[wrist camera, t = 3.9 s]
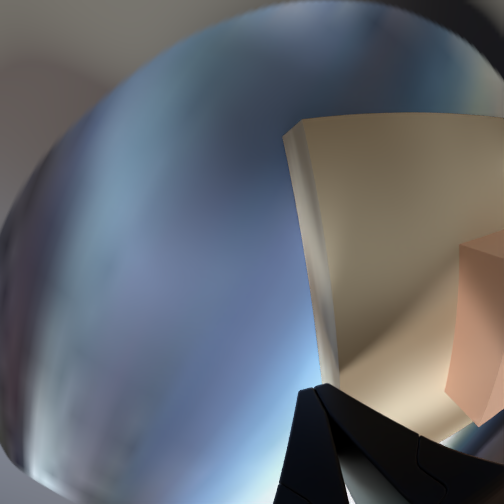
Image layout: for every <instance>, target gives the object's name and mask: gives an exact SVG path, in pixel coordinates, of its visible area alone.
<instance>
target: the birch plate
mask: <svg viewBox="0 0 504 504" xmlns="http://www.w3.org/2000/svg"><path fill="white" fill-rule="evenodd" d="M282 138H283V142H284V147H285V152H286V157H287V161H288V166H289V171H290V176H291V181H292V186H293V192H294V197H295V202H296V208H297V213H298V219H299V224H300V230H301V236H302V242H303V248H304V254H305V260H306V266H307V272H308V279H309V286H310V292H311V299H312V306H313V313H314V321H315V328H316V336H317V344H318V353H319V361H320V370H321V379H322V384H325V383H330V384H331V385H333V386H335V387H336V388H338V389H340V390H341V391H343V392H345V393H346V394H348V395H350V396H351V397H353V398H355V399H356V400H358V401H360V402H362V403H363V404H365V405H367V406H369V407H370V408H372V409H374V410H376V411H377V412H379V413H381V414H383V415H385V416H386V417H388V418H390V419H392V420H394V421H396V422H397V423H399V424H401V425H403V426H405V427H407V428H409V429H411V430H412V431H414V432H416V433H418V434H419V436H420V435H422V436H424V437H426V438H428V439H430V440H432V441H434V442H437V443H439V442H441V441H443V440H444V439H446V438H448V437H450V436H451V435H453V434H455V433H456V432H458V431H460V430H461V429H463V428H464V427H466V426H467V425H469V424H470V423H472V422H473V421H472V420H471V419H470V418H469V417H468V416H467V415H466V413H465V412H464V411H463V410H462V409H461V408H460V407H459V406H458V405H457V404H456V403H455V402H454V401H453V400H452V399H451V398H450V397H449V396H448V395H447V394H446V393H445V392H444V391H445V386H446V381H447V377H448V371H449V366H450V360H451V354H452V348H453V341H454V333H455V324H456V315H457V303H458V286H459V244H461V243H465V242H468V241H471V240H474V239H477V238H480V237H483V236H486V235H489V234H492V233H495V232H498V231H500V230H503V229H504V118H499V117H491V116H480V115H468V114H453V113H420V112H403V113H370V114H353V115H339V116H328V117H318V118H309V119H302V120H301V121H299V122H298V123H297V124H296V125H295V126H294V127H293V128H291V129H290V130H289V131H288V132H287V133H286V134H285V135H283V136H282ZM344 483H345V482H344Z"/></svg>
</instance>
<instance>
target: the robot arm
mask: <svg viewBox="0 0 504 504" xmlns="http://www.w3.org/2000/svg"><path fill="white" fill-rule="evenodd" d="M344 482H345V483H344ZM345 484H346V486H347V488H348V490H349V492H350V494H351V496H352V498H353V500H354V502H355V504H504V464H500V463H496V462H493V461H489V460H485V459H482V458H478V457H475V456H471V455H468V454H465V453H462V452H459V451H456V450H453V449H451V448H448V447H446V446H443V445H441V444H439V443H437V442H434V441H432V440H430V439H428V438H426V437H424V436H422V435H420V436H419V434H418V433H416V432H414V431H412V430H411V429H409V428H407V427H405V426H403V425H401V424H399V423H397V422H396V421H394V420H392V419H390V418H388V417H386V416H385V415H383V414H381V413H379V412H377V411H376V410H374V409H372V408H370V407H369V406H367V405H365V404H363V403H362V402H360V401H358V400H356V399H355V398H353V397H351V396H350V395H348V394H346V393H345V392H343V391H341V390H340V389H338V388H336V387H335V386H333V385H331V384H330V383H325V384H321V385H318V386H315V387H314V388H312V387H311V388H307V389H303V390H300V391H299V392H298V397H297V402H296V407H295V412H294V417H293V422H292V427H291V432H290V437H289V441H288V446H287V451H286V455H285V459H284V464H283V468H282V472H281V476H280V480H279V485H278V488H277V492H276V495H275V499H274V502H273V504H349V501H348V496H347V492H346V487H345Z"/></svg>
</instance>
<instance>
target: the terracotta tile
mask: <svg viewBox="0 0 504 504" xmlns="http://www.w3.org/2000/svg"><path fill="white" fill-rule="evenodd" d="M444 392H445V393H446V394H447V395H448V396H449V397H450V398H451V399H452V400H453V401H454V402H455V403H456V404H457V405H458V406H459V407H460V408H461V409H462V410H463V411H464V412H465V413H466V415H467V416H468V417H469V418H470V419H471V420H472V421H473V422H474V423H475V424H476V425H477V426H478V427H480V426H481V425H482V424H484V423H485V422H487V421H488V420H489V419H491V418H492V417H493V416H495V415H496V414H497V413H499V412H500V411H501V410H503V409H504V229H503V230H500V231H498V232H495V233H492V234H489V235H486V236H483V237H480V238H477V239H474V240H471V241H468V242H465V243H461V244H459V286H458V303H457V315H456V324H455V333H454V341H453V348H452V354H451V360H450V366H449V371H448V377H447V381H446V386H445V391H444Z"/></svg>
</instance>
